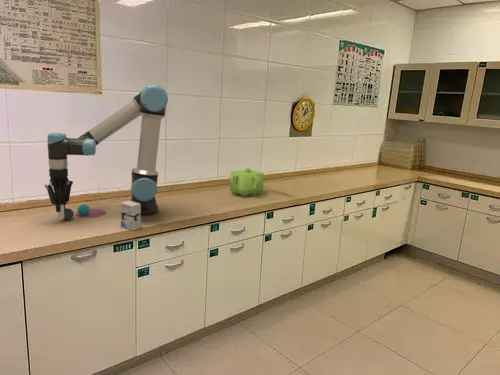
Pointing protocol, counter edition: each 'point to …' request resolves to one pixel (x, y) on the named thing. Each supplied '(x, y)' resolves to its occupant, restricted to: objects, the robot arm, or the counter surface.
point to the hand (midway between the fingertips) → (61, 217)
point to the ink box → (131, 215)
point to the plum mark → (93, 213)
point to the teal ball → (83, 209)
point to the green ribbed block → (246, 182)
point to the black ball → (68, 214)
